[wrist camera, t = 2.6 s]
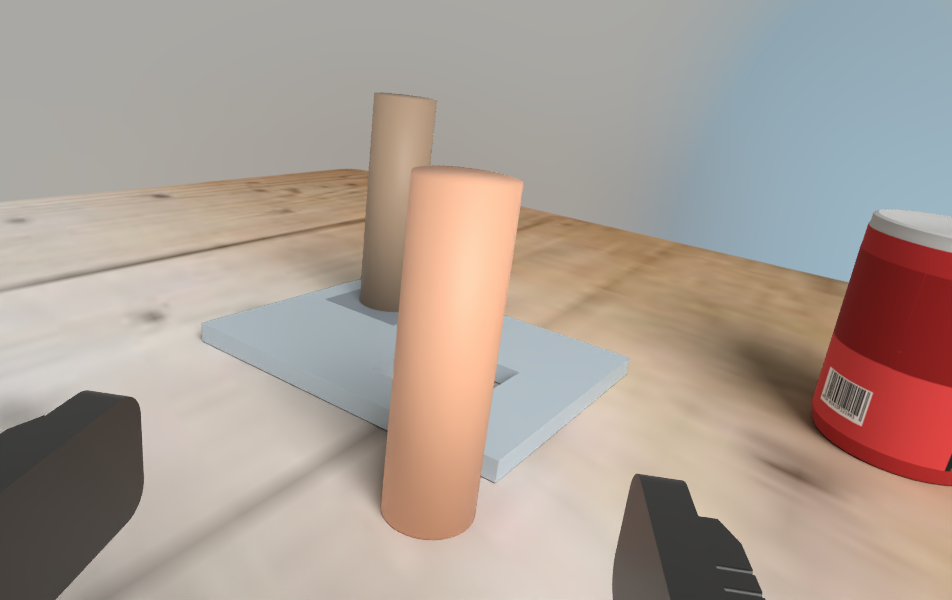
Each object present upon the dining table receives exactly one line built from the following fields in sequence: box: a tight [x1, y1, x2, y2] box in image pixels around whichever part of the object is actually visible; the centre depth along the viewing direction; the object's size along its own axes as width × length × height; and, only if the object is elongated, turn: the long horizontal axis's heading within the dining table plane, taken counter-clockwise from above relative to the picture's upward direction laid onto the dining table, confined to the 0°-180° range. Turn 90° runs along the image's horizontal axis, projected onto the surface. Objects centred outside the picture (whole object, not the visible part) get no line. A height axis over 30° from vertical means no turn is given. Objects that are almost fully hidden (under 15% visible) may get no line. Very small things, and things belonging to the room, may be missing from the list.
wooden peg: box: [381, 166, 523, 540], centre depth 22 cm, size 3×3×12 cm
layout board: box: [202, 93, 630, 483], centre depth 34 cm, size 18×14×13 cm
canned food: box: [812, 209, 952, 485], centre depth 32 cm, size 8×8×11 cm
